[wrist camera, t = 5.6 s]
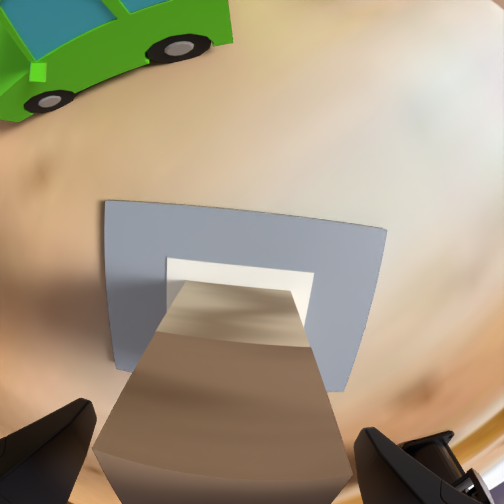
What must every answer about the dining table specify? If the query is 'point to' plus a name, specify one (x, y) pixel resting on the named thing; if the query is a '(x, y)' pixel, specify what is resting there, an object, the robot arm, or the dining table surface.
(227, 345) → the walnut block
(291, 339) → the beech block
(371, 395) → the dining table surface
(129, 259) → the board
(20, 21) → the toy car
